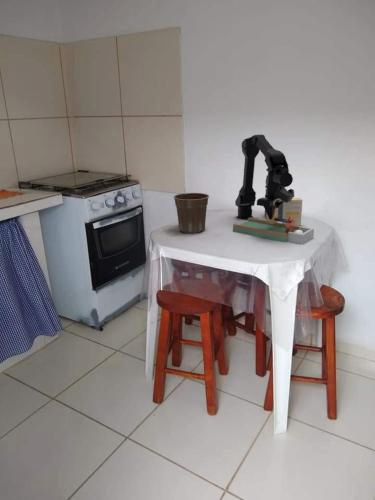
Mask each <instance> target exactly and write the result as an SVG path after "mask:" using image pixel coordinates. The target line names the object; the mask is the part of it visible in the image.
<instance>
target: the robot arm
mask: <svg viewBox="0 0 375 500" xmlns="http://www.w3.org/2000/svg"><path fill="white" fill-rule="evenodd" d="M241 152H242V155H243V156H244V166H243V179H242V186H241V188H240V189H239V191H238V195H237V198H236V199H235V201H234V203H235V206H236V207H237V215H236V218H237V219H242V220H248V218H254V216H253V209H252V207H255V203H256V206H260V207H263V208H264V211H265V210H266V213H267V215H268V217H269V219H272V216H273V210H274V207H278V209H279V207H280V205H281V204H283V203H284V202H286V203H288V202H290V201H291V200H292V198H295V190H294V189H292V188H290V189H286V190H284V189H283V187H285V188H287V187H289V186H291V185H292V183H293V181H294V180H293V178H294V177H293V176H292V174H291V173H290V170H289V164H288V162H287V159H286V156H285V154H284V153H283V152H282V151H280V150H278V149H275V148H274V147H273V146H272V144H271V143H270V142H269V141H268V140H267V138H266V136H265V134H254V135H252V136H250V137H248V138H244V139H243V140H242V142H241ZM260 152H261V154H263V156H264V162H265V165H266V166H267V168H266V172H267V175H268V182H267V185H266V184H265V186H264V187H265V189H266V188H267V195H265V194H264V197H261V198H260V197H259V198H258V199H257V196H256V195H257V192H256V191H255V189H254V188H253V187H254V186H253V185H254V176H255V175H254V173H255V164H256V163H255V162H256V157H257V156H258V155H259V153H260ZM265 197H266V198H265ZM256 199H257V200H256ZM282 200H283V201H282Z"/></svg>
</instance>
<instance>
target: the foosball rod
mask: <svg viewBox="0 0 375 500" xmlns="http://www.w3.org/2000/svg"><path fill="white" fill-rule="evenodd" d="M265 220H266V223H269V224H276V223H277V222H278V223H282V222H285V223H286V229H285V233H288V232H293V231H295V222H296V221H293V220H294V219H293V217H289V219H282V218H278V207H274V210H273V216H272V219H269V217H268V215H267V213H266V217H265Z"/></svg>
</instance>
